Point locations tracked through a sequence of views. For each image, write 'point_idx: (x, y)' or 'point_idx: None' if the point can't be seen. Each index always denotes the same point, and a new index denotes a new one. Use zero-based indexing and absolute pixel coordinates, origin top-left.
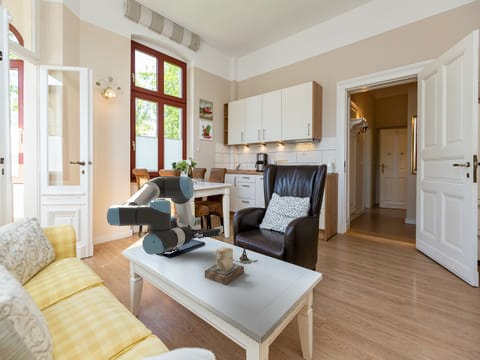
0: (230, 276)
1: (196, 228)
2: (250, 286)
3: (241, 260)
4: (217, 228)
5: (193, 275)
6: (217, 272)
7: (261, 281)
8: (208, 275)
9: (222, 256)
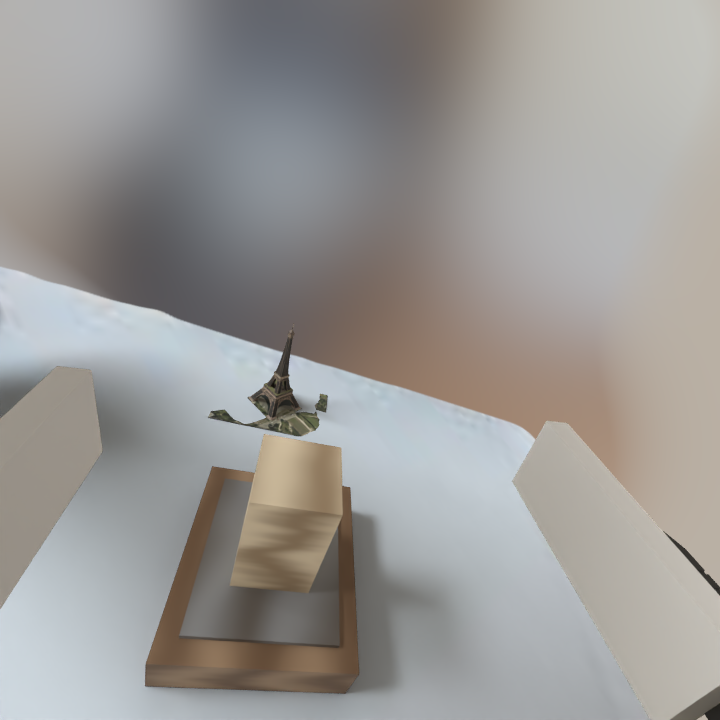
0: (354, 625)
1: (20, 519)
2: (450, 622)
3: (271, 415)
4: (675, 564)
5: (22, 713)
6: (265, 641)
7: (450, 549)
8: (186, 677)
9: (299, 535)
